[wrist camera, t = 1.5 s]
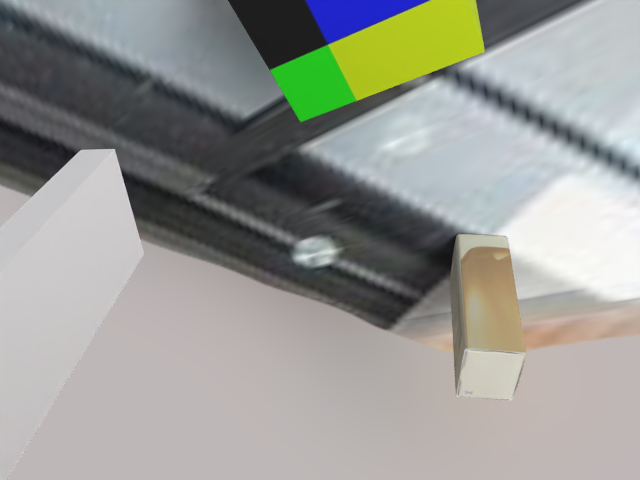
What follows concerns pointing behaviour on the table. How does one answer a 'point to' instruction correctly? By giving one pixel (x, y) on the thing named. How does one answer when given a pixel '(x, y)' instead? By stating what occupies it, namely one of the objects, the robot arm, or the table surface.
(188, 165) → the table surface
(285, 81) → the puzzle toy
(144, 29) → the table surface
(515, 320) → the skincare box
